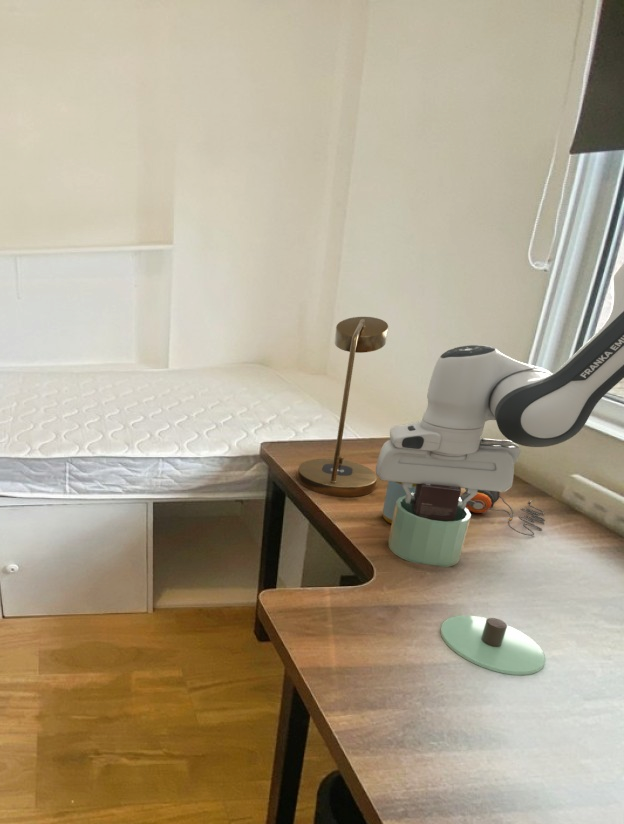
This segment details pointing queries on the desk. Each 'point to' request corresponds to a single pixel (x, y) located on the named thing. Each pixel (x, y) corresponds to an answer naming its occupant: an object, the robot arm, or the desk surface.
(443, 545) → the canister
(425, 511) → the box
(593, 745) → the desk surface
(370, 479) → the lamp
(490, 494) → the headphones
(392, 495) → the bottle
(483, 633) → the lid
